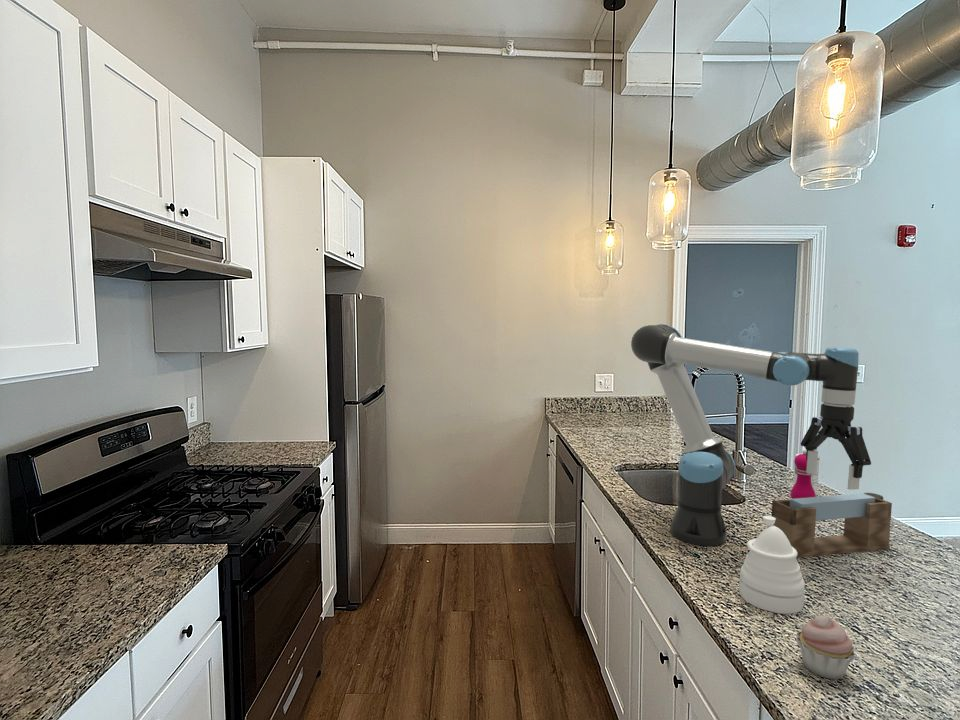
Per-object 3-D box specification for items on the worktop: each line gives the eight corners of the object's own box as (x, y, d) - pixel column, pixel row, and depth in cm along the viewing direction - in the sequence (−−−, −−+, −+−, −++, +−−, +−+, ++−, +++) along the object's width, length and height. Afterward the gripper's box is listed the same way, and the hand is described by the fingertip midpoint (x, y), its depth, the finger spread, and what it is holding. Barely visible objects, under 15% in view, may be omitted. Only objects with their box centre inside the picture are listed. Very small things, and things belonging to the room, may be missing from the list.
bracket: (791, 558, 139) (793, 510, 138) (769, 545, 146) (771, 500, 145) (889, 549, 144) (892, 503, 143) (863, 537, 152) (866, 493, 151)
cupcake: (848, 694, 89) (852, 638, 88) (787, 667, 95) (790, 615, 95) (861, 669, 95) (864, 616, 94) (802, 645, 102) (805, 596, 101)
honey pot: (728, 584, 125) (731, 511, 124) (779, 582, 126) (783, 510, 125) (760, 614, 112) (764, 533, 111) (817, 612, 113) (822, 532, 112)
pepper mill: (790, 510, 173) (793, 451, 172) (789, 503, 180) (792, 446, 178) (816, 514, 170) (819, 453, 168) (814, 507, 176) (817, 448, 175)
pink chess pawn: (792, 493, 190) (794, 454, 189) (802, 491, 193) (804, 452, 191) (808, 498, 185) (810, 458, 184) (818, 495, 188) (820, 456, 186)
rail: (800, 522, 140) (801, 504, 140) (789, 516, 144) (789, 499, 144) (873, 515, 145) (875, 497, 145) (860, 510, 149) (861, 493, 149)
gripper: (893, 413, 131) (885, 495, 133) (812, 396, 155) (806, 466, 157) (867, 413, 129) (860, 497, 131) (790, 397, 154) (785, 467, 156)
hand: (831, 480), depth 144 cm, fingers open, 13 cm apart
